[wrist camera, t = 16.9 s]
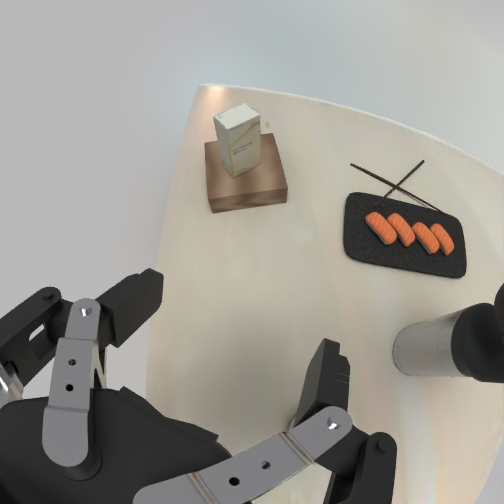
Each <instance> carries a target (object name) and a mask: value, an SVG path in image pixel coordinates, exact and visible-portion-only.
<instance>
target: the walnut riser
mask: <svg viewBox="0 0 504 504" xmlns="http://www.w3.org/2000/svg"><path fill="white" fill-rule="evenodd" d="M260 136H261V164H259V165H257V166H255V167H254V168H252V169H250V170H248V171H246V172H244V173H242V174H240V175H238V176H236V177H233V176H232V175H231V174H230V173H229V172H228V171H227V169H226V168H225V167H224V166H223V164H222V160H221V155H220V149H219V144H218V141H213V142H207V143H205V161H206V177H207V191H208V201H209V203H210V206H211V209H212V212H213V213H218V212H224V211H231V210H237V209H244V208H251V207H258V206H265V205H272V204H279V203H286V199H287V190H288V187H287V183H286V179H285V175H284V171H283V168H282V164H281V160H280V156H279V153H278V149H277V145H276V142H275V138H274V135H273V133H270V134H261V135H260Z"/></svg>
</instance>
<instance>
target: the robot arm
mask: <svg viewBox="0 0 504 504" xmlns="http://www.w3.org/2000/svg"><path fill="white" fill-rule="evenodd" d="M163 279H164V277H163V274H161V273H159V272H157V271H155V270H153V269H150V268H149V269H146V270H145V271H144V272H142V273H141V274H134V275H130V276H127V277H126V278H125V279H123V280H122V281H121V282H119V283H117V284H116V285H115V286H113V287H112V288H110V289H109V290H108V291H106V292H105V293H103V294H102V295H101V296H99V297H98V298H96V299H95V300H93V299H89V298H84V299H80V300H78V301H76V302H75V303H73V302H69V301H67V300H64V299H62V297H61V292H60V291H59V290H58V289H57V288H55V287H45V288H42V289H40V290H39V291H37V292H36V293H35V294H33V295H32V296H31V297H29V298H28V299H26V300H25V301H24V302H22V303H21V304H19V305H18V306H17V307H15V309H13V310H11V311H10V312H9V313H7V314H6V315H5V316H3V317H2V318H1V319H0V504H252V502H251V501H253V500H255V499H257V498H259V497H260V496H262V495H264V494H266V493H267V492H269V491H271V490H272V489H274V488H276V487H277V486H279V485H280V484H282V483H284V482H285V481H287V480H288V479H290V478H291V477H293V476H294V475H296V474H297V473H299V472H300V471H302V470H303V469H305V468H306V467H307V466H309V465H310V464H312V463H313V462H316V463H318V464H319V465H321V466H323V467H325V468H326V469H328V470H330V471H332V474H331V477H330V481H329V485H328V488H327V492H326V495H325V499H324V502H323V504H391V502H392V495H393V488H394V479H395V469H396V456H397V445H396V442H395V440H394V439H393V438H392V437H391V436H390V435H389V434H387V433H384V432H376V433H374V434H372V435H371V436H370V435H368V434H366V433H364V432H363V431H361V430H359V429H357V428H356V427H355V426H354V425H353V424H352V419H351V417H350V415H349V414H348V413H347V407H348V394H349V379H350V377H349V376H350V365H349V362H348V360H347V358H346V357H345V356H341V355H339V350H340V343H338V342H335V341H332V340H329V339H326V338H324V339H323V340H322V342H321V344H320V346H319V348H318V349H317V351H316V353H315V355H314V356H313V358H312V360H311V362H310V364H309V367H308V369H307V373H306V377H305V382H304V386H303V390H302V395H301V399H300V403H299V407H298V411H297V415H296V418H295V422H294V426H293V429H292V430H290V431H288V432H286V433H285V432H281V433H278V434H277V435H275V436H273V437H271V438H269V439H267V440H266V441H264V442H262V443H260V444H258V445H256V446H254V447H252V448H250V449H248V450H246V451H244V452H242V453H240V454H238V455H236V456H234V457H232V455H231V454H230V453H229V452H228V451H227V450H226V449H225V448H224V447H223V446H222V445H221V444H219V443H218V442H217V439H218V436H219V435H217V434H214V433H212V432H210V431H207V430H205V429H203V428H201V427H198V426H196V425H194V424H190V423H186V422H182V421H178V420H174V419H170V418H167V417H165V416H163V415H162V414H161V413H160V412H158V411H157V410H156V409H155V408H154V407H153V406H152V405H151V404H150V403H149V402H148V401H146V400H145V399H144V398H142V397H141V396H139V395H137V394H136V393H134V392H132V391H131V390H129V389H128V388H126V387H124V386H123V387H122V388H121V389H120V391H117V390H113V389H107V386H106V358H107V356H106V355H107V348H106V347H107V346H108V345H109V344H112V345H113V346H115V347H116V348H118V347H120V346H121V345H122V344H123V343H124V342H125V341H126V340H127V339H128V338H129V337H130V336H131V335H132V334H133V333H134V332H135V331H136V330H137V329H138V328H139V327H140V326H141V325H142V324H143V323H144V322H145V321H147V320H148V319H149V318H150V317H151V316H152V315H153V314H154V313H155V312H156V311H157V310H158V309H159V307H160V305H161V302H162V294H163ZM42 324H43V326H44V329H43V330H42V331H41V332H40V333H38V334H37V335H36V336H35V337H34V338H33V339H32V340H30V341H29V337H30V335H31V333H32V332H33V331H35V330H36V329H37V328H38V327H39V326H40V325H42ZM53 357H55V361H54V366H53V371H52V378H51V385H50V393H49V396H48V397H40V398H32V399H23V398H22V393H23V388H24V387H25V386H26V385H27V384H28V382H30V381H31V379H32V378H33V377H34V376H35V375H36V374H37V373H38V372H39V371H40V370H41V369H42V368H43V367H44V366H45V365H46V364H47V363H48V362H49V361H50V360H52V358H53ZM393 358H394V362H395V364H396V366H397V368H398V369H399V370H400V371H401V372H403V373H404V374H407V375H417V376H436V377H473V378H474V379H476V380H478V381H481V382H492V383H504V283H503V285H502V286H501V287H500V289H499V290H498V292H497V295H496V297H495V302H494V306H493V305H492V304H489V303H479V304H476V305H473V306H470V307H468V308H465V309H462V310H459V311H456V312H454V313H451V314H448V315H445V316H441V317H438V318H435V319H432V320H428V321H425V322H421V323H418V324H415V325H411V326H408V327H406V328H405V329H403V330H402V331H401V332H400V333H399V335H398V336H397V338H396V340H395V343H394V347H393Z"/></svg>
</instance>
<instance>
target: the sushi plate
mask: <svg viewBox="0 0 504 504" xmlns="http://www.w3.org/2000/svg"><path fill="white" fill-rule="evenodd" d="M424 162H425V161H424V160H422V161H421V162H420V163H419V164H418V165H417V166H416V167H415V168H414V169H413V170H412V171H411V172H410V173H409V174H408V175H407V176H406V177H404V178H403V179H402V180H401V181H400V182H399V183H398V184H397V185H395V184H393V183H391V182H389V181H387V180H385V179H383V178H381V177H379V176H377V175H375V174H373V173H371V172H369V171H367V170H365V169H363V168H361V167H359V166H356V165H354V164H350V165H351V166H353V167H355V168H357V169H359V170H361V171H363V172H365V173H367V174H368V175H370V176H372V177H374V178H376V179H379V180H381V181H383V182H385V183H387V184H389V185H391V186H393V187H394V188H393V189H391V190H390V191H389V192H388V193H387V194H386V195H385V196H384V197H382V196H377V195H372V194H367V193H361V192H354V193H350V194H349V196H348V198H347V201H346V207H345V224H344V245H345V250H346V252H347V254H348V255H349V256H351V257H352V258H354V259H357V260H360V261H364V262H369V263H374V264H380V265H385V266H391V267H397V268H402V269H408V270H414V271H419V272H425V273H430V274H436V275H441V276H447V277H454V278H460V277H463V276H464V275H465V273H466V267H467V262H466V249H465V241H464V234H463V229H462V226H461V223H460V222H459V220H458V219H457V218H455V217H454V216H451V215H449V214H446V213H444V212H442V211H441V210H439V209H437V208H436V207H434V206H432V205H430V204H429V203H427V202H425V201H424V200H422V199H420V198H418V197H417V196H415V195H413V194H411V193H409V192H407V191H406V190H404V189H402V188H400V187H398V186H399V185H400V184H401V183H402V182H403V181H404V180H405V179H407V178H408V177H409V176H410V175H411V174H412V173H413V172H414V171H416V170H417V169H418V168H419V167H420V166H421V165H422V164H423V163H424ZM395 188H397V189H399V190H401V191H403V192H405V193H407V194H409V195H411V196H413V197H414V198H416V199H418V200H420V201H422V202H424V203H425V204H427V205H429V206H431V207H432V208H434V209H436V210H437V211H436V210H433V209H429V208H425V207H422V206H418V205H414V204H410V203H406V202H402V201H398V200H394V199H390V198H386V196H388V195H389V194H390V193H391V192H392V191H393V190H394V189H395Z"/></svg>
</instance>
